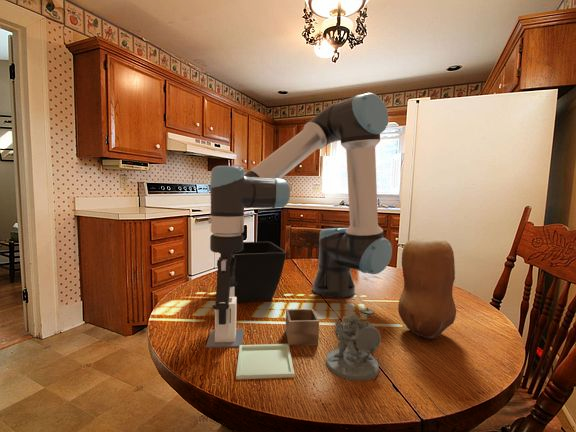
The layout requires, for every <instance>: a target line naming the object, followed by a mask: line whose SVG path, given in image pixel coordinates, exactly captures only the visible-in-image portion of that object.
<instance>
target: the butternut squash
mask: <svg viewBox="0 0 576 432" xmlns="http://www.w3.org/2000/svg"><path fill="white" fill-rule="evenodd" d="M455 267H456V266H455V255H454V251H453V247H452V246H451V244H450V243H449V242H448V241H447V240H445V239H443V238H424V239H423V238H422V239H421V238H420V239H419V238H413V239H410V240H408V241H407V242H405V244H404V245H403V248H402V253H401V268H402V276H403V289H402V292H401V294H400V297H399V299H398V306H397V309H398V314H399V317H400V319H401V321H402V322H403V324H404V325H405V326H406V328H407V329H408V330H410V331H411V332H412V333H414V334H416V336H421V337H423V338H426V339H437V338H438V337H440V335H441V334H443V332H444V331H446V330H447V328H449V327H450V326H451V325H453V324H454V322H455V320H456V315H457V306H456V304H455V301H454V297H453V288H454V287H453V286H454V283H455V279H456V269H455Z"/></svg>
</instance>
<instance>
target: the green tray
mask: <svg viewBox="0 0 576 432" xmlns="http://www.w3.org/2000/svg"><path fill="white" fill-rule="evenodd" d="M238 348H239V349H238V357H237V365H236V374H235V380H251V379H253V380H256V379H257V380H258V379H259V380H260V379H261V380H263V379H284V378H285V379H286V378H295V369H294V365H293V359H292V354H291V349H290V346H289V344H288V343H274V344H273V343H270V344H268V343H267V344H266V343H265V344H264V343H263V344H242V345H240V347H238Z"/></svg>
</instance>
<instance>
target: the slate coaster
mask: <svg viewBox="0 0 576 432" xmlns="http://www.w3.org/2000/svg"><path fill="white" fill-rule="evenodd" d="M244 331H245V330H244V329H243V328H240V329H239V328H236V337H235V342H215V329H211V330H210V333H209V336H208V339H207V342H206V345H205V348H206V349H217V348H218V349H219V348H221V349H224V348H239V347H240V345H243V340H244Z"/></svg>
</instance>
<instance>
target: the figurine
mask: <svg viewBox="0 0 576 432" xmlns="http://www.w3.org/2000/svg"><path fill="white" fill-rule="evenodd" d="M360 314H363V315H366V321H361V319H360V317H359V316H358V315H357V314H356V313H355V314H354V313H353V314H351V315H349V317H348V318H347V316H342V319H341V321H340V320H339V321H338V320H337V321H335V323H334V324H335V326H336V327H335V329H334V331H333V333H334V334H335V336H336V338H337V340H338V341H339V343H338V345H337V348H335V349H332V350H331V351H329V352H328V353H327V354H326V358H325V363H326V366H327V369H329V371H331V373H333V375H336V376H337V377H340V378H342V379H345V380H347V381H348V380H349V381H355V382H356V381H358V382H362V381H369V380H370V381H372V380H374V379H375V378H377V377H378V374H379V372H380V369H379V367H380V364H379V362H378V360H377V358H375V357H374V355H373V353H374V352H375V351H377V349H378V348H379V347H380V345H381V342H382V336H381V334H380V331H379V330H378V329H377V328H376V327H374V325H372V324H371V322H369V316H373V315H375V310H373V309H370V308H369V307H366V308H363V309H360Z"/></svg>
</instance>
